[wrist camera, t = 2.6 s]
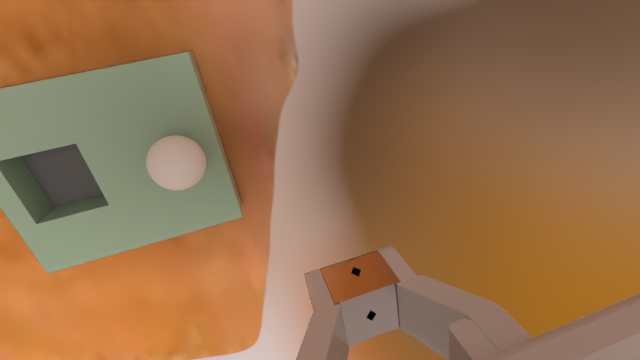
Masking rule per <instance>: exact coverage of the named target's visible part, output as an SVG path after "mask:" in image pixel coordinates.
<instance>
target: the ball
mask: <svg viewBox="0 0 640 360" xmlns="http://www.w3.org/2000/svg"><path fill="white" fill-rule="evenodd" d="M146 167H147V171H148V173H149V175H150V177H151V178H152V179H153V180H154V182H156V183H157V184H158V185H160V186H161V187H163V188H166V189H169V190H185V189H188V188H190V187H192V186H194V185H195V184H197V183H198V182H199V181H200V180H201V178H202V177H203V175H204V173H205V170H206V157H205V154H204V152H203V150H202V148H201V147H200V146H199V145H198V144H197V143H196V142H195V141H193V140H192V139H190V138H187V137H184V136H179V135H172V136H167V137H164V138H162V139H160V140H158V141H157V142H156V143H154V144H153V146H152V147H151V148H150V150H149V152H148V154H147V158H146Z"/></svg>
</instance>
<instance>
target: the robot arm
mask: <svg viewBox="0 0 640 360" xmlns="http://www.w3.org/2000/svg"><path fill="white" fill-rule="evenodd" d="M305 280H306V284H307V288H308V291H309V295H310V300H311V303H312V307H313V310H314V313H313V314H312V317H311V319H310V322H309V325H308V328H307V330H306V333H305V336H304V339H303V342H302V344H301V347H300V350H299V353H298V356H297V359H296V360H348V355H349V349H350V348H349V347H350V346H352V345H354V344H357V343H359V342H362V341H364V340H367V339H369V338H371V337H374V336H377V335H380V334H382V333H385V332H388V331H391V330H394V329H397V328H399V327H400V329H401V330H403V331H405V332H406V333H408V334H409V335H411V336H412V337H414V338H415V339H417V340H418V341H420V342H422V343H423V344H425V345H426V346H428V347H429V348H431V349H432V350H434V351H436V352H437V353H439V354H440V355H442V356H443V357H445V358H446V359H448V360H640V293H639V294H637V295H634V296H632V297H629V298H627V299H625V300H622V301H620V302H617V303H615V304H613V305H610V306H608V307H605V308H603V309H601V310H598V311H596V312H594V313H591V314H589V315H586V316H584V317H582V318H579V319H577V320H574V321H572V322H570V323H567V324H565V325H562V326H560V327H558V328H555V329H553V330H551V331H548V332H546V333H543V334H541V335H539V336H536V337H534V338H532V337H531V336H530V335H529V334H528V333H527V332H526V331H525V330H524V329H523V328H522V327H521V326H520V325H519V324H518V323H517V322H516V321H515V320H514V319H513V318H512V317H511V316H509V314H508V313H507V312H505V310H503V309H502V308H501V307H500V306H499V305H498V304H497V303H494V302H491V301H489V300H486V299H484V298H481V297H478V296H476V295H473V294H470V293H468V292H465V291H462V290H460V289H457V288H454V287H452V286H449V285H446V284H444V283H441V282H439V281H436V280H434V279H431V278H428V277H426V276H423V275H419V276H416V275H415V273H414V272H413V271H412V270H411V268H410V267H409V266H408V265H407V264H406V262H405V261H404V260H403V259H402V257H401V256H400V255H399V254H398V253H397V251H396V250H395V249H394V248H393V247H392V246H390V245H389V246H386V247H383V248H381V249H378V250H376V251H372V252H370V253H367V254H364V255H361V256H358V257H355V258H352V259H349V260H346V261H343V262H340V263H336V264H333V265H330V266H327V267H323V268H320V270H319V269H317V270H314V271H311V272H308V273H305Z"/></svg>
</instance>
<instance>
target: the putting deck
mask: <svg viewBox="0 0 640 360" xmlns="http://www.w3.org/2000/svg"><path fill="white" fill-rule="evenodd" d="M172 135H179V136H184V137H187V138H190V139H192V140H193V141H195V142H196V143H197V144H198V145H199V146H200V147H201V148H202V150H203V152H204V154H205V157H206V170H205V173H204V175H203V177H202V178H201V180H200V181H199V182H198V183H197V184H195V185H194V186H192V187H190V188H188V189H185V190H169V189H166V188H163V187H161V186H160V185H158V184H157V183H156V182H154V180H153V179H152V178H151V177H150V175H149V173H148V171H147V167H146V158H147V154H148V152H149V150H150V148H151V147H152V146H153V144H154V143H156V142H157V141H158V140H160V139H162V138H164V137H167V136H172ZM0 208H1V209H2V211H3V212H4V214H5V215H6V216H7V218H8V219H9V221H10V222H11V223H12V225H13V226H14V227H15V229H16V230H17V232H18V233H19V234H20V236H21V237H22V239H23V240H24V241H25V243H26V244H27V246H28V247H29V248H30V250H31V251H32V252H33V254H34V255H35V257H36V258H37V259H38V261H39V262H40V264H41V265H42V266H43V268H44V269H45V270H46V272H47V273H52V272H55V271H59V270H62V269H66V268H69V267H73V266H76V265H80V264H83V263H87V262H90V261H94V260H97V259H100V258H104V257H107V256H111V255H114V254H118V253H121V252H125V251H128V250H132V249H135V248H139V247H142V246H145V245H149V244H152V243H156V242H159V241H163V240H166V239H170V238H173V237H177V236H180V235H184V234H187V233H190V232H194V231H197V230H201V229H204V228H208V227H211V226H215V225H218V224H222V223H225V222H229V221H232V220H235V219H239V218H242V217H243V214H242V205H241V200H240V197H239V194H238V191H237V188H236V185H235V182H234V179H233V175H232V172H231V169H230V166H229V163H228V160H227V157H226V154H225V151H224V148H223V145H222V142H221V139H220V136H219V133H218V129H217V126H216V123H215V120H214V117H213V114H212V111H211V108H210V105H209V102H208V99H207V96H206V93H205V90H204V86H203V83H202V80H201V77H200V74H199V71H198V68H197V65H196V62H195V59H194V56H193V53H192V50H191V51H186V52H181V53H176V54H171V55H166V56H161V57H156V58H151V59H146V60H140V61H135V62H130V63H125V64H120V65H115V66H110V67H105V68H100V69H94V70H89V71H84V72H79V73H74V74H69V75H64V76H59V77H54V78H49V79H43V80H38V81H33V82H28V83H23V84H18V85H13V86H8V87H3V88H0Z"/></svg>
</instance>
